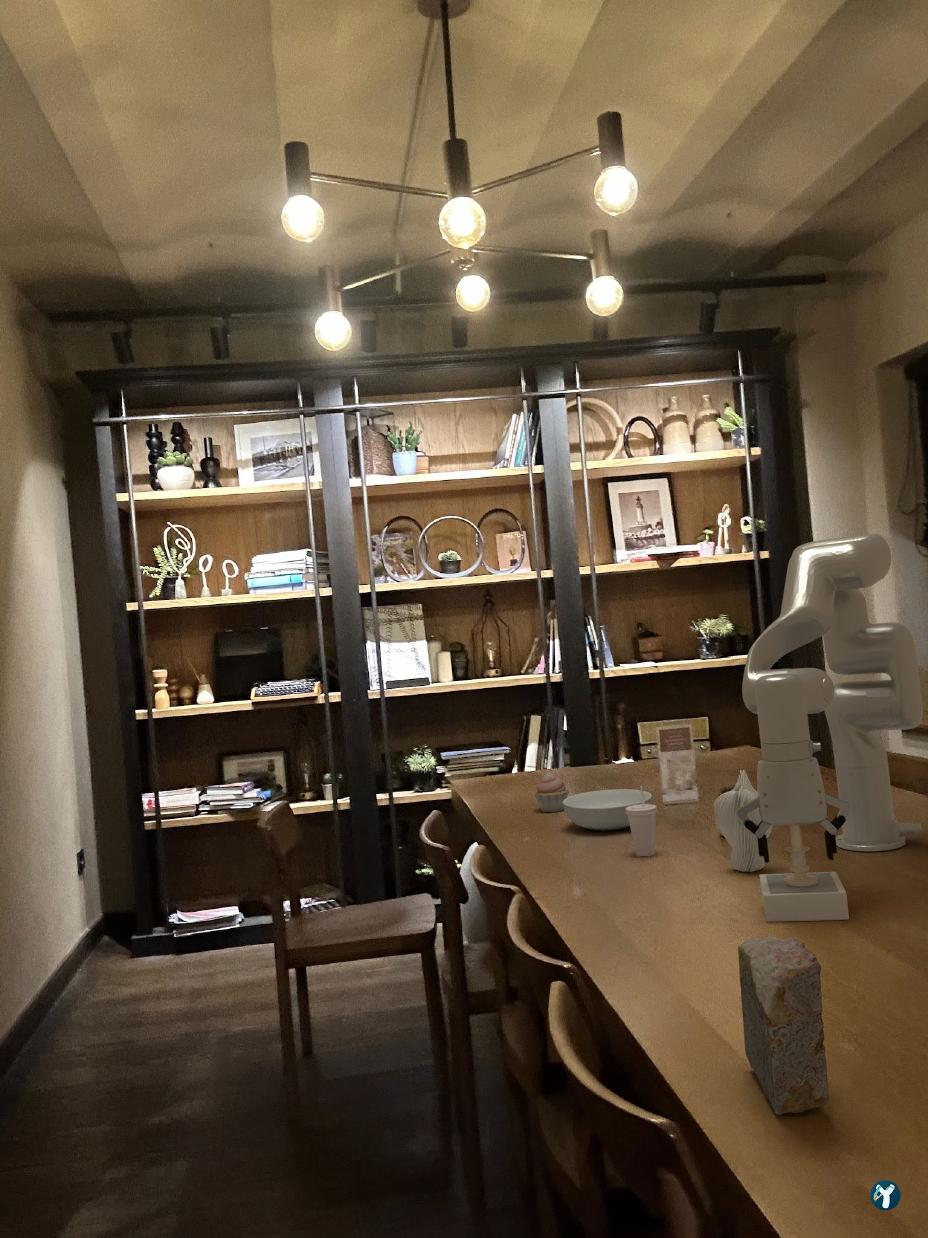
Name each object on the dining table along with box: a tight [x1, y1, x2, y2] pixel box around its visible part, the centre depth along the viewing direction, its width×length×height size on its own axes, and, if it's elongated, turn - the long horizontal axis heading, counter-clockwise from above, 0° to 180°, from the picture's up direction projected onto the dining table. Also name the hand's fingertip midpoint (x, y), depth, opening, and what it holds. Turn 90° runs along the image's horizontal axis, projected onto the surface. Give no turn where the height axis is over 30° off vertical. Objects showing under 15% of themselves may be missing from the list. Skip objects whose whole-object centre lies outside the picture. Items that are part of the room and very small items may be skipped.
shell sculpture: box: [713, 769, 774, 873], centre depth 178 cm, size 8×8×18 cm
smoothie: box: [626, 785, 658, 857], centre depth 197 cm, size 6×6×14 cm
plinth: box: [759, 871, 850, 923], centre depth 153 cm, size 12×12×4 cm
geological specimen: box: [737, 936, 830, 1116], centre depth 97 cm, size 11×6×15 cm, turn 178°
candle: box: [784, 824, 818, 887], centre depth 153 cm, size 5×5×10 cm
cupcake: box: [533, 771, 570, 813], centre depth 253 cm, size 9×9×10 cm
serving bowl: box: [563, 788, 653, 832], centre depth 227 cm, size 21×21×7 cm
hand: (798, 859), depth 153 cm, fingers open, 9 cm apart
